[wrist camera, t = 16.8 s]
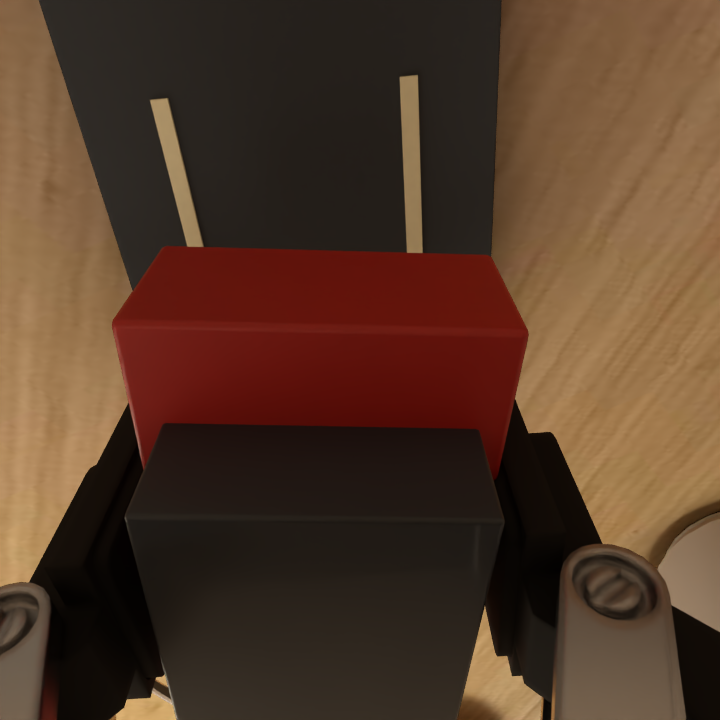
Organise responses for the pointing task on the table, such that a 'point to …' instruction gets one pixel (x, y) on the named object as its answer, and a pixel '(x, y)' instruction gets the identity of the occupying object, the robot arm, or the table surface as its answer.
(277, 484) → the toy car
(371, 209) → the mat
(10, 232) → the table surface
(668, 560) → the can
